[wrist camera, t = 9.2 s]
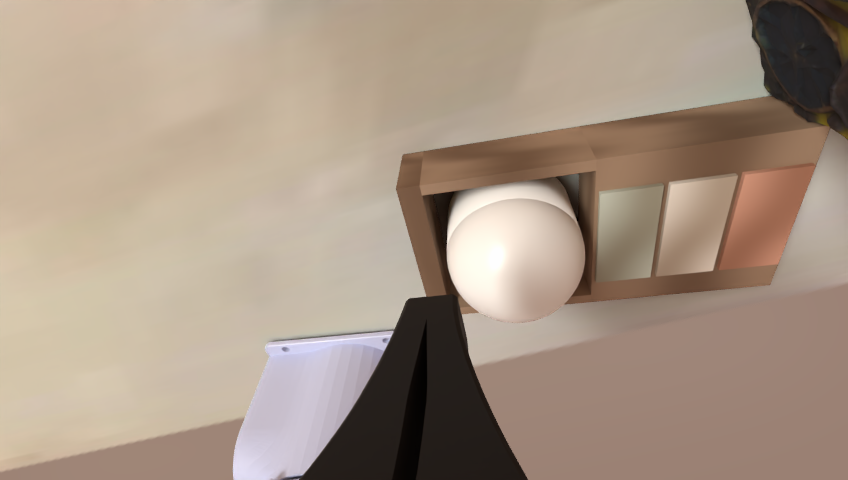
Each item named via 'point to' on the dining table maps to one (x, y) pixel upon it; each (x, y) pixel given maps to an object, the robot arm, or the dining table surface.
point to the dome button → (515, 249)
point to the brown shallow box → (643, 195)
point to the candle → (805, 56)
